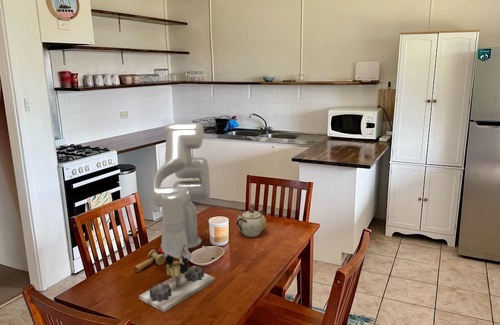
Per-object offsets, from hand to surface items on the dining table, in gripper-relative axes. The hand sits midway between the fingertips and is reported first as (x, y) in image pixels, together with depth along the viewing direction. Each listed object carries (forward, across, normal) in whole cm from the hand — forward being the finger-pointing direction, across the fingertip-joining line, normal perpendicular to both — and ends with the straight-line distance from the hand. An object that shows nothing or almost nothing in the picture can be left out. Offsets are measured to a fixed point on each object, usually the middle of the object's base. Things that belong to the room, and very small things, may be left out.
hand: (177, 268), depth 151 cm
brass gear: (+1, 0, 0) cm, 1 cm away
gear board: (+9, 0, 0) cm, 9 cm away
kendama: (+9, -25, +7) cm, 27 cm away
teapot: (+9, -10, +58) cm, 59 cm away
